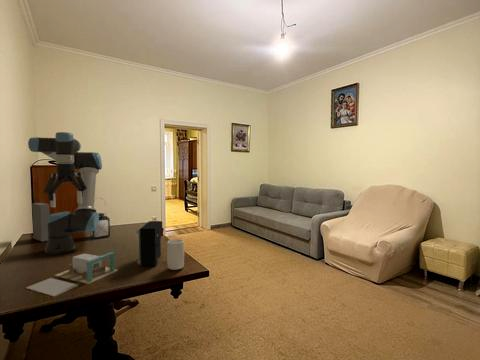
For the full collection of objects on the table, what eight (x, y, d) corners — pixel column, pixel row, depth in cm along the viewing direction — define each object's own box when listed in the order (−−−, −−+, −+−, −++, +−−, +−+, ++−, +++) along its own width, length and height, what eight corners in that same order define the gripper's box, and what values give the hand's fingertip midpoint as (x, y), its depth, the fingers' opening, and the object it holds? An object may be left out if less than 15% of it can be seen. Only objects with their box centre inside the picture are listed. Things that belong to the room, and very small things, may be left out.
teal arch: (87, 280, 115) (86, 261, 115) (111, 269, 127) (111, 251, 127) (90, 281, 114) (89, 261, 114) (114, 269, 127) (114, 252, 126)
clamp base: (54, 276, 121) (54, 267, 121) (86, 264, 136) (86, 256, 136) (87, 284, 113) (87, 275, 113) (117, 270, 128) (117, 262, 128)
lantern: (110, 236, 189) (109, 198, 188) (92, 238, 183) (91, 199, 181) (107, 233, 198) (106, 196, 197) (90, 235, 191) (89, 197, 190)
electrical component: (146, 255, 150) (145, 221, 148) (164, 254, 151) (163, 220, 149) (136, 267, 132) (135, 228, 131) (157, 266, 133) (156, 228, 132)
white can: (175, 273, 125) (175, 244, 124) (163, 269, 129) (163, 241, 128) (187, 267, 132) (187, 240, 131) (176, 264, 136) (175, 237, 135)
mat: (25, 289, 109) (25, 287, 109) (51, 279, 118) (50, 277, 118) (54, 297, 102) (53, 295, 102) (78, 286, 111) (78, 284, 111)
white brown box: (71, 271, 124) (71, 256, 124) (83, 267, 130) (83, 253, 130) (91, 275, 119) (91, 260, 119) (102, 271, 125) (102, 256, 125)
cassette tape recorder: (52, 239, 180) (50, 204, 178) (41, 241, 175) (40, 205, 173) (43, 236, 187) (42, 202, 186) (33, 238, 182) (31, 203, 181)
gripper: (43, 163, 118) (45, 209, 119) (93, 163, 141) (94, 202, 142) (33, 163, 120) (35, 208, 122) (83, 163, 144) (84, 201, 145)
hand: (67, 205), depth 132 cm, fingers open, 13 cm apart
